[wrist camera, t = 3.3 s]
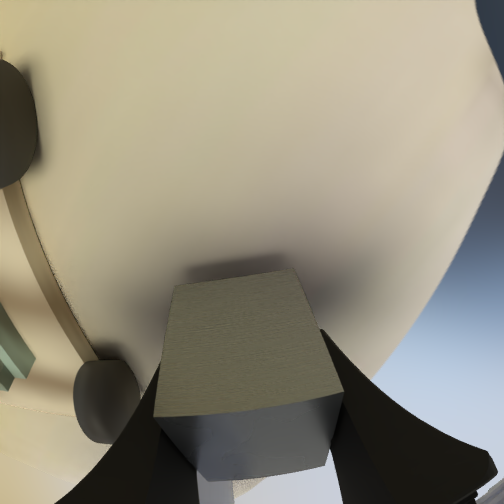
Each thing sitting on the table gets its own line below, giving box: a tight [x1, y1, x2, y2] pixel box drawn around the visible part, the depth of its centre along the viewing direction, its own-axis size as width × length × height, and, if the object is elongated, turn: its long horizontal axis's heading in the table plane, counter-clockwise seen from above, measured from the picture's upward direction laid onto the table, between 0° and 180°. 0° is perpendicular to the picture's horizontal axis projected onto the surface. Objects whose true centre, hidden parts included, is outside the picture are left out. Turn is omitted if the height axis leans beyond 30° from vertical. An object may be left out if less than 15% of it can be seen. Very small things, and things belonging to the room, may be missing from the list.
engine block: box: [153, 268, 344, 482], centre depth 9 cm, size 5×4×5 cm
